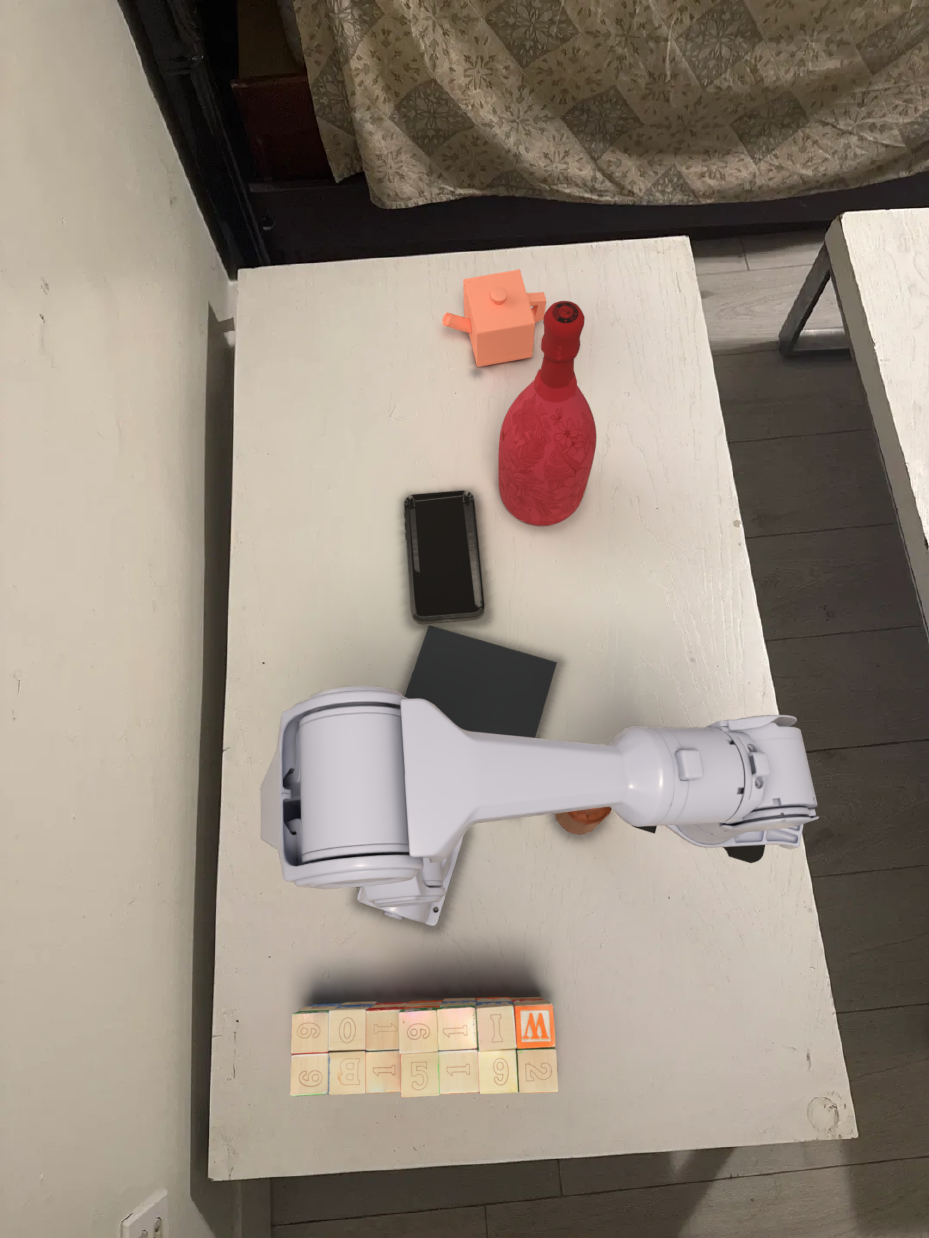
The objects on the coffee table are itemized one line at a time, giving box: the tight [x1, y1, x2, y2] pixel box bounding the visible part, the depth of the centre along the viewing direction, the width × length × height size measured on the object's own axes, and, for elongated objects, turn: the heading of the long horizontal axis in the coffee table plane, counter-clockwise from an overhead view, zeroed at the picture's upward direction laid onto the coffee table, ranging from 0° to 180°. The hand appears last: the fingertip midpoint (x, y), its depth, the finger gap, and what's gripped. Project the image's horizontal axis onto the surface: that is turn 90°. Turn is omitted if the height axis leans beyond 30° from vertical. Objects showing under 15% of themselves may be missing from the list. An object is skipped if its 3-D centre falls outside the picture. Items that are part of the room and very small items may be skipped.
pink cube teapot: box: [441, 268, 547, 368], centre depth 101 cm, size 8×12×8 cm, turn 101°
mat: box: [404, 624, 557, 738], centre depth 89 cm, size 16×14×1 cm
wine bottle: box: [497, 300, 597, 527], centre depth 84 cm, size 10×10×30 cm
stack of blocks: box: [289, 996, 559, 1098], centre depth 73 cm, size 21×6×12 cm, turn 92°
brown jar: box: [554, 807, 613, 836], centre depth 81 cm, size 5×5×11 cm
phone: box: [403, 489, 485, 625], centre depth 95 cm, size 8×1×15 cm
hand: (680, 821), depth 75 cm, fingers open, 5 cm apart
